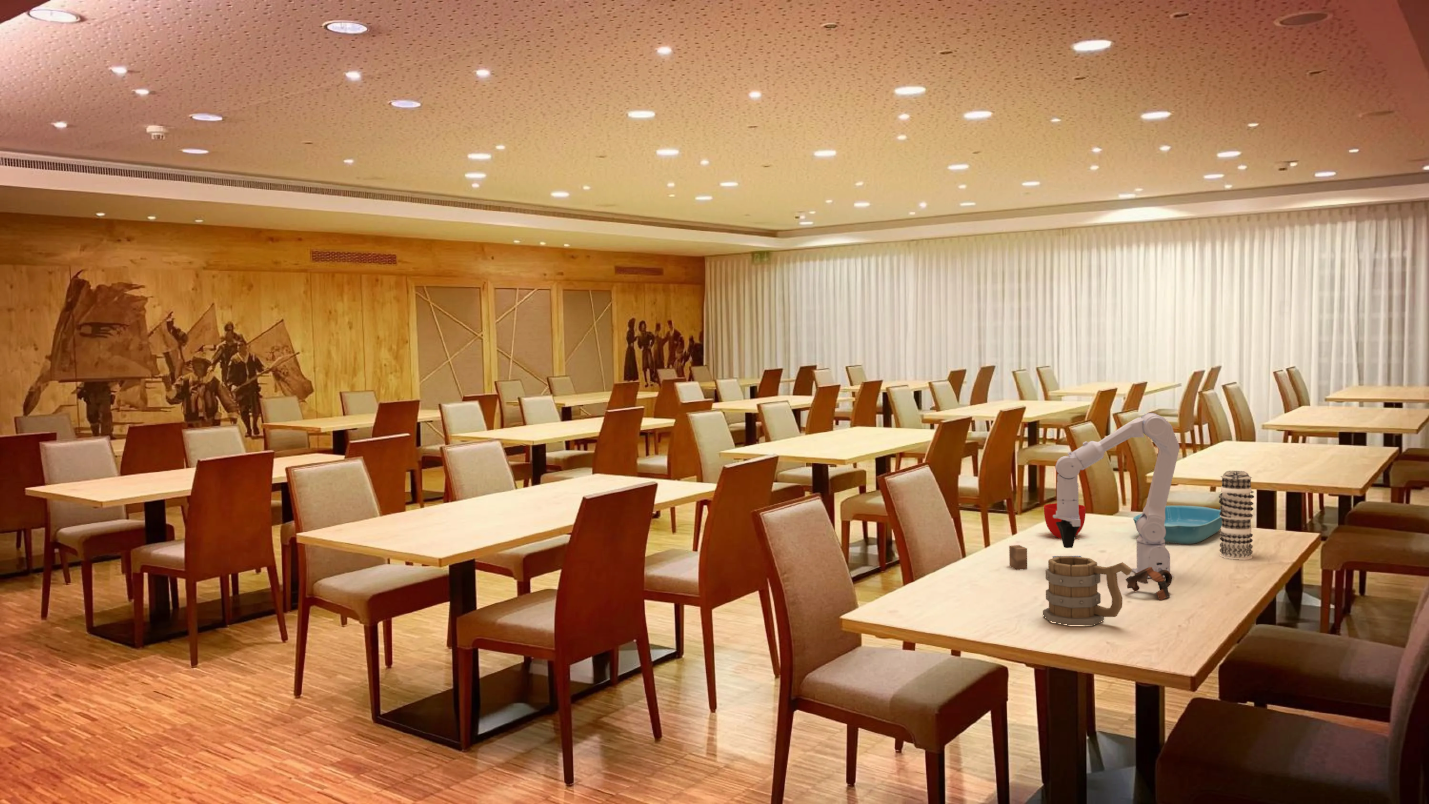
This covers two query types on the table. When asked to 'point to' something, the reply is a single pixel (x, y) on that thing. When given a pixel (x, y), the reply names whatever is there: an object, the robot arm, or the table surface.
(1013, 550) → the walnut block
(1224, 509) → the decorative candle
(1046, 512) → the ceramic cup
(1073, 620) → the tankard
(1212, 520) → the casserole dish
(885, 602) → the table surface
